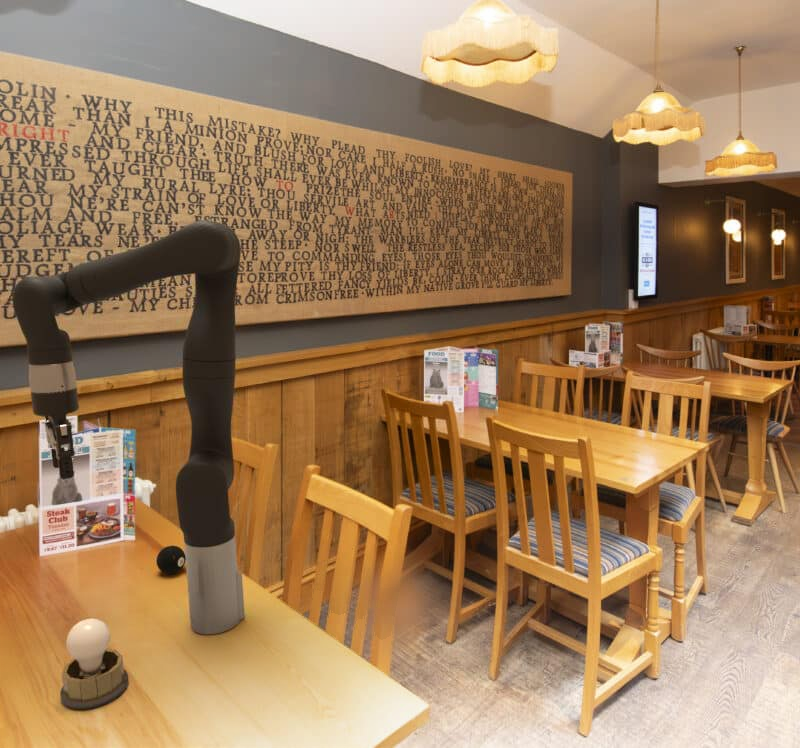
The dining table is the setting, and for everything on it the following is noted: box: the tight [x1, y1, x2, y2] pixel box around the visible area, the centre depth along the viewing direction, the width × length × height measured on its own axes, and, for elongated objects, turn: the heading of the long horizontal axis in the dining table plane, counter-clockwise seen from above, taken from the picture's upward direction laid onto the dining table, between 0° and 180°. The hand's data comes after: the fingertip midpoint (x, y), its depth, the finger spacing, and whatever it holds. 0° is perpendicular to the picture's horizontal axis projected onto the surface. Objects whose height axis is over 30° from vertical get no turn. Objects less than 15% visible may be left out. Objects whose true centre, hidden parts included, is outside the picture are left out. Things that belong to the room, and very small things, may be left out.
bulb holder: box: [59, 648, 130, 711], centre depth 106 cm, size 10×10×4 cm
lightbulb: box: [65, 617, 111, 679], centre depth 105 cm, size 6×6×11 cm
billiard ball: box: [156, 545, 186, 575], centre depth 146 cm, size 6×6×6 cm
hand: (63, 472), depth 122 cm, fingers open, 8 cm apart
